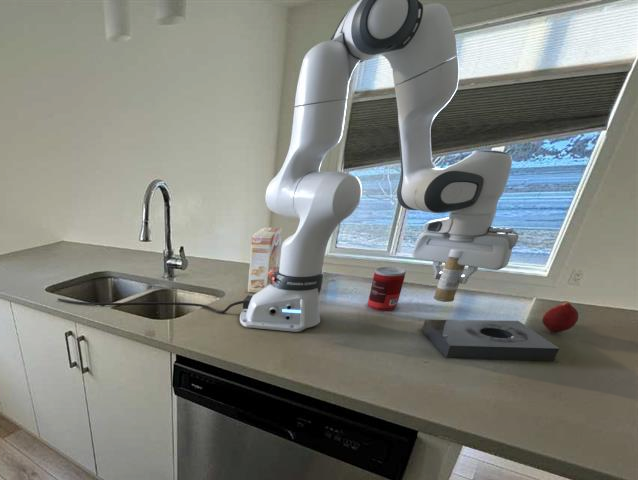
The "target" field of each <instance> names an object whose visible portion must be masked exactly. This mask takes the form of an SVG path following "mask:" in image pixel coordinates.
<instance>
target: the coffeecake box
mask: <svg viewBox="0 0 638 480" xmlns="http://www.w3.org/2000/svg"><path fill="white" fill-rule="evenodd" d="M282 230H283V227H262V228H261V229H259V230H257V231H256V232H255V233H253V234H252V235H251V243H250V244H251V245H250V258H249V271H248V282H247V283H248V284H247V293H253V294H256V293H258V292H259V291H261V290H262V289H264V288H265V287H267V286H268V285H270V279H271V278H270V277H269V271H270V270H275V271H276V272H277V271H278V269H279V260H280V251H281V241H282V232H283V231H282Z"/></svg>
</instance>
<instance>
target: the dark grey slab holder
mask: <svg viewBox="0 0 638 480" xmlns="http://www.w3.org/2000/svg"><path fill="white" fill-rule="evenodd" d="M421 331H422V332H423V333H424V335H426V336H427V338H428V339H429V340H430V341H431V342H432V343H433V344H434V345H435V347H436V348H437V349H438V350H439V351H440V352H441V353H442V354H443V355H444V357H446V358H456V359H457V358H458V359H482V360H483V359H485V360H486V359H487V360H512V361H513V360H514V361H543V362H545V361H546V362H554V361H555V359H556V357H557V355H558V353H559V351H560V348H559V347H558V346H557V345H556V344H555V343H552V342H550V341H549V340H548V339H546V337H545V338H544V337H543V336H542V335H540V334H538V333H537V332H535V331H534V330H533V329H532V328H530V327H529V326H527V325H525V324H524V323H522V322H521V321H520V320H492V319H491V320H488V319H486V320H485V319H484V320H482V319H481V320H480V319H475V320H474V319H424V322H423V325H422V328H421Z"/></svg>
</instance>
